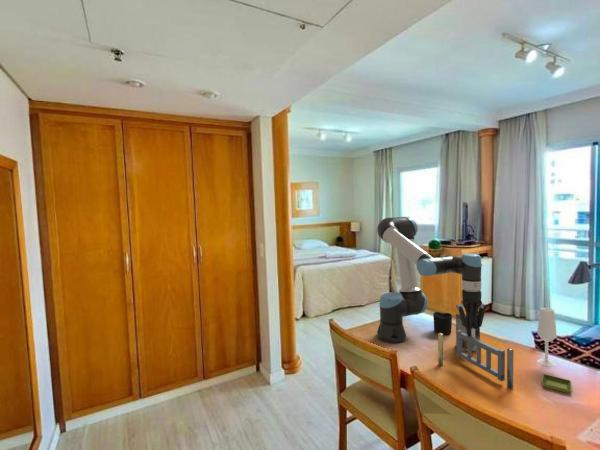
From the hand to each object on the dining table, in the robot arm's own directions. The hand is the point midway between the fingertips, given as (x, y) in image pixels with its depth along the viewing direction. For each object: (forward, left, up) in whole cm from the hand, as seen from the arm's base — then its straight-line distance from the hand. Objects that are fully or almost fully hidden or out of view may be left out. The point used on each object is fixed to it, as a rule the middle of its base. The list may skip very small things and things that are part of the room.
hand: (471, 342), depth 143 cm
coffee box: (-7, +15, -10) cm, 20 cm away
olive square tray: (+29, +3, -11) cm, 31 cm away
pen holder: (-24, +27, -10) cm, 38 cm away
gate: (+4, -4, -8) cm, 10 cm away
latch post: (-10, -10, -10) cm, 17 cm away
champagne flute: (+23, +22, -10) cm, 34 cm away
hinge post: (+17, -10, -10) cm, 22 cm away
